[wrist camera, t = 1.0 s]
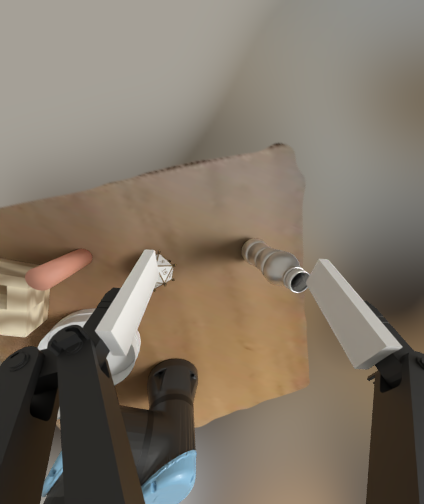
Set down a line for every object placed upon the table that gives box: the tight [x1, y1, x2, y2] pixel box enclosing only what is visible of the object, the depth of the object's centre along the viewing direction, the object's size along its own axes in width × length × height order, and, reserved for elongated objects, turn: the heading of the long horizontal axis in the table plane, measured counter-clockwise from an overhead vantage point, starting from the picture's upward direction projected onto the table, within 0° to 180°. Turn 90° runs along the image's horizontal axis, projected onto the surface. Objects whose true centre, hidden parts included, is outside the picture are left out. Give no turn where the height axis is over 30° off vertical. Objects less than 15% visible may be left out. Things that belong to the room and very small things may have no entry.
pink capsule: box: [25, 249, 92, 291], centre depth 33 cm, size 4×4×12 cm
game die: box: [137, 250, 177, 292], centre depth 38 cm, size 9×8×10 cm
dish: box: [38, 308, 141, 386], centre depth 43 cm, size 22×22×5 cm
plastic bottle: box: [241, 238, 310, 293], centre depth 35 cm, size 6×7×20 cm
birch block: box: [0, 258, 50, 337], centre depth 35 cm, size 14×12×6 cm
